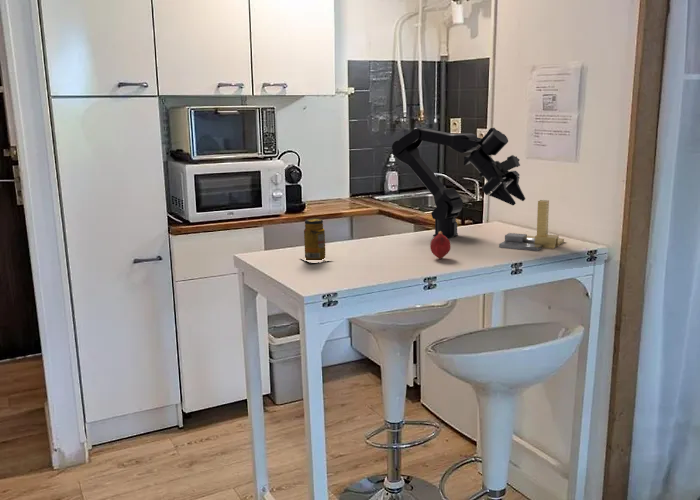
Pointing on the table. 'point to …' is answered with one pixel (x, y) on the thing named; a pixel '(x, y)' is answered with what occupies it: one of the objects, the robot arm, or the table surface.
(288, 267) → the table surface
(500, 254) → the table surface
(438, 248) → the onion
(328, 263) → the table surface
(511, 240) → the fixed leaf
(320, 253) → the condiment
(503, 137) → the robot arm
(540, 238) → the brass block assembly
